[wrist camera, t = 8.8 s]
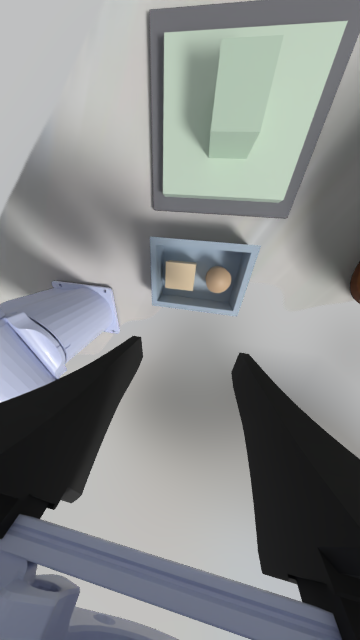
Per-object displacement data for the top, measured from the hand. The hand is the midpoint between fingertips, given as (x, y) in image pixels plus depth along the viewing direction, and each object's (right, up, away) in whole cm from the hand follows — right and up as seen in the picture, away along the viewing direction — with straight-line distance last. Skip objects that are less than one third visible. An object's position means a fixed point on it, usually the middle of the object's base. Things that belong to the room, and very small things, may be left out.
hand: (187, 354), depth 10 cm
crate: (+2, +8, +7) cm, 11 cm away
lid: (+3, +17, +1) cm, 18 cm away
